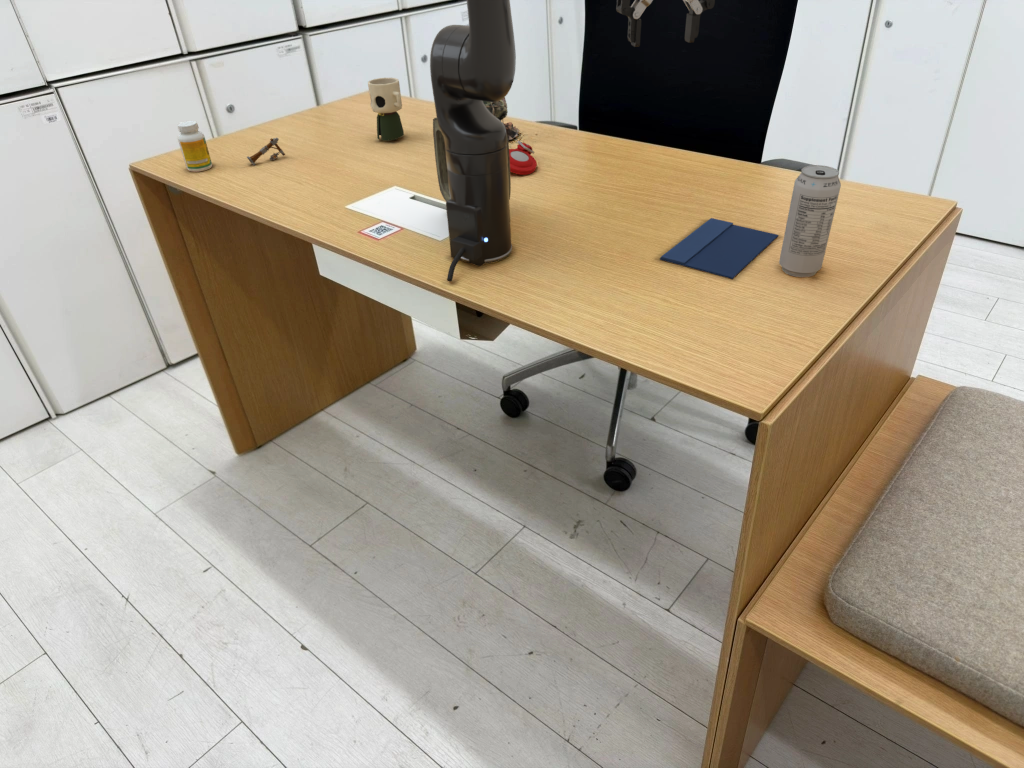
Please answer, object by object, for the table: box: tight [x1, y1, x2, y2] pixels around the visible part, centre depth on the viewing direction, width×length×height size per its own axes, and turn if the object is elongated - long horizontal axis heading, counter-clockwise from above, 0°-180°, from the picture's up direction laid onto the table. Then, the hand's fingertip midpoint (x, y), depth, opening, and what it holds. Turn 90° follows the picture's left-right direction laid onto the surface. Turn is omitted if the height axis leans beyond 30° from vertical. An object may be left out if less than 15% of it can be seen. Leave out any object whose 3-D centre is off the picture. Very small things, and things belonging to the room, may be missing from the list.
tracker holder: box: [509, 140, 538, 176], centre depth 148 cm, size 12×4×10 cm
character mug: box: [367, 77, 405, 142], centre depth 164 cm, size 11×7×13 cm, turn 47°
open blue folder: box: [659, 217, 779, 280], centre depth 113 cm, size 18×12×1 cm, turn 142°
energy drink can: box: [778, 164, 842, 278], centre depth 102 cm, size 6×6×15 cm
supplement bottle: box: [177, 120, 213, 173], centre depth 153 cm, size 5×5×10 cm
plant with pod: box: [483, 96, 521, 142], centre depth 160 cm, size 8×11×20 cm
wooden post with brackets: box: [246, 137, 286, 166], centre depth 158 cm, size 2×8×4 cm, turn 126°
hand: (662, 43), depth 107 cm, fingers open, 8 cm apart
